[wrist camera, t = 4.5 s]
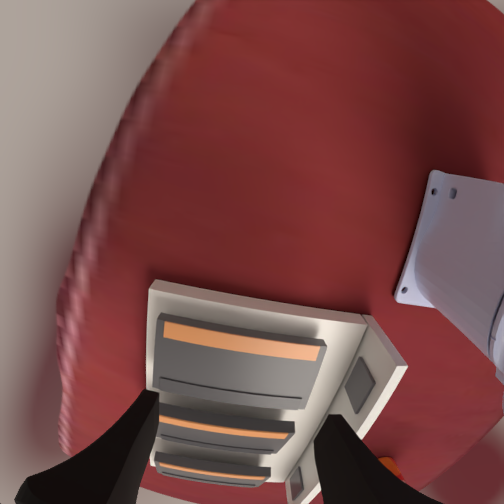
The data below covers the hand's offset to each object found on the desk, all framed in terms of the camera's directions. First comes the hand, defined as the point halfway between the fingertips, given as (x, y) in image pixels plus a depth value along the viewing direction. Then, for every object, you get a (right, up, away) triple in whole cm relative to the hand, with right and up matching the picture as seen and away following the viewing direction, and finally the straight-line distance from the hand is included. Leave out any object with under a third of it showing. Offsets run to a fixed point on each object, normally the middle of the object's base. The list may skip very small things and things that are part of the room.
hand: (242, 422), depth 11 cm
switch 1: (-1, 0, +6) cm, 6 cm away
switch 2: (-2, -6, +8) cm, 11 cm away
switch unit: (-1, -6, +11) cm, 13 cm away
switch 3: (-3, -13, +10) cm, 17 cm away
